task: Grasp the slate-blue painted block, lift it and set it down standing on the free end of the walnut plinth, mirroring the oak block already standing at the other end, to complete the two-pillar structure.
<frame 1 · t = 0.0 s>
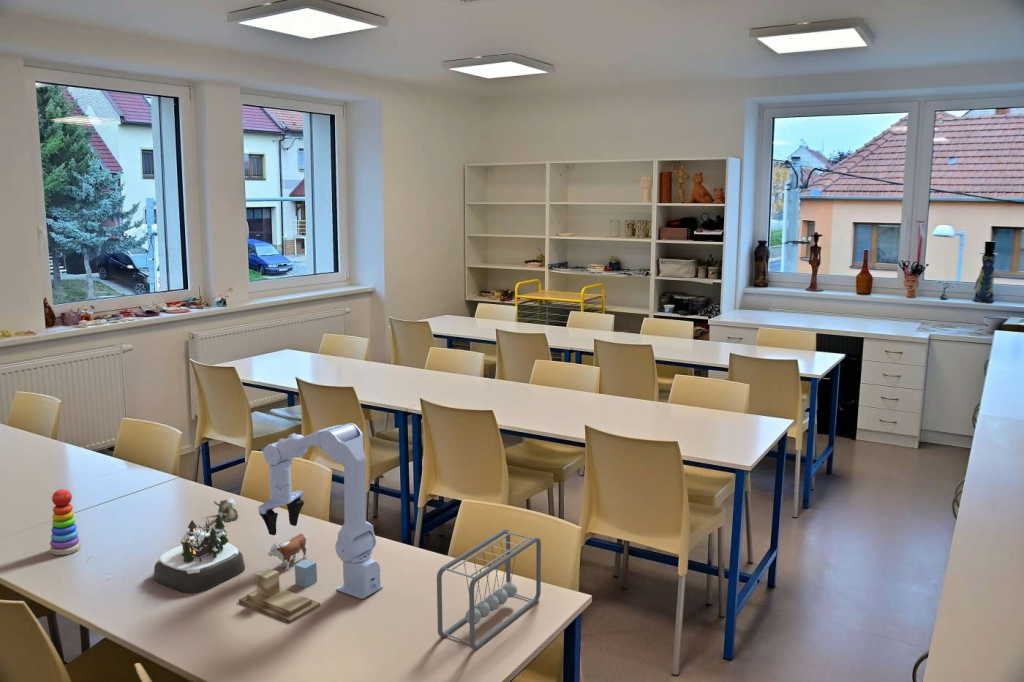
hand: (283, 529, 229), 10 cm above the table, fingers open, 7 cm apart
bull figurine: (289, 565, 229), on the table
miniature diorama: (200, 574, 225), on the table
stacking toy: (65, 551, 239), on the table
newton's cradle: (491, 619, 200), on the table
slate block: (306, 582, 219), on the table
plinth: (279, 604, 207), on the table
oak block: (268, 592, 209), point 2 cm above the table, touching plinth
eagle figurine: (226, 518, 264), on the table
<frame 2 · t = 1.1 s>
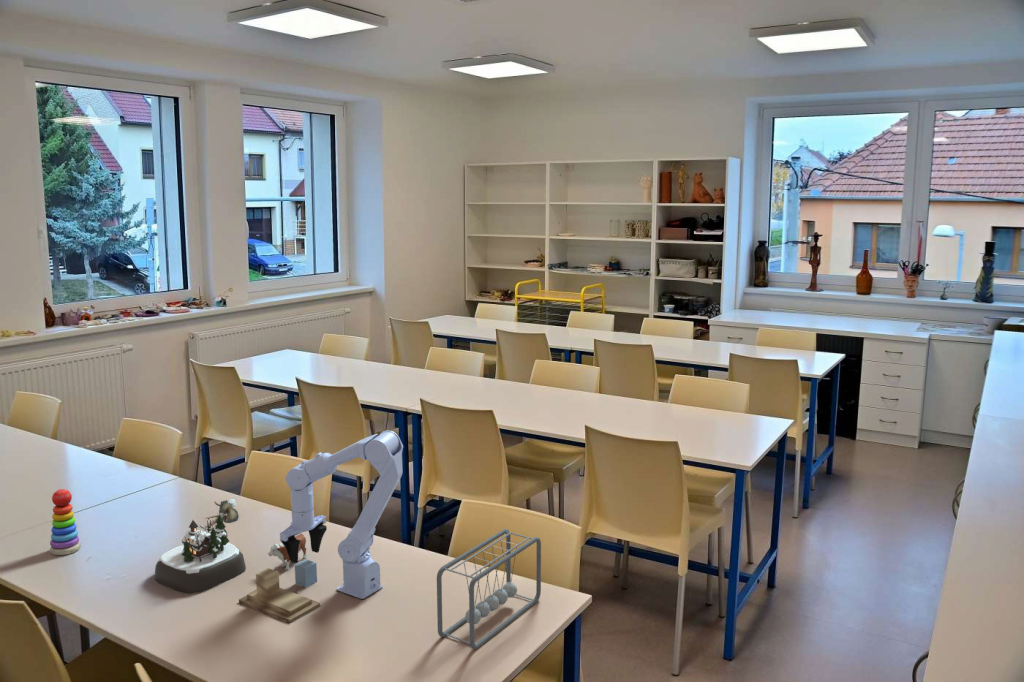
hand: (304, 556, 218), 7 cm above the table, fingers open, 7 cm apart
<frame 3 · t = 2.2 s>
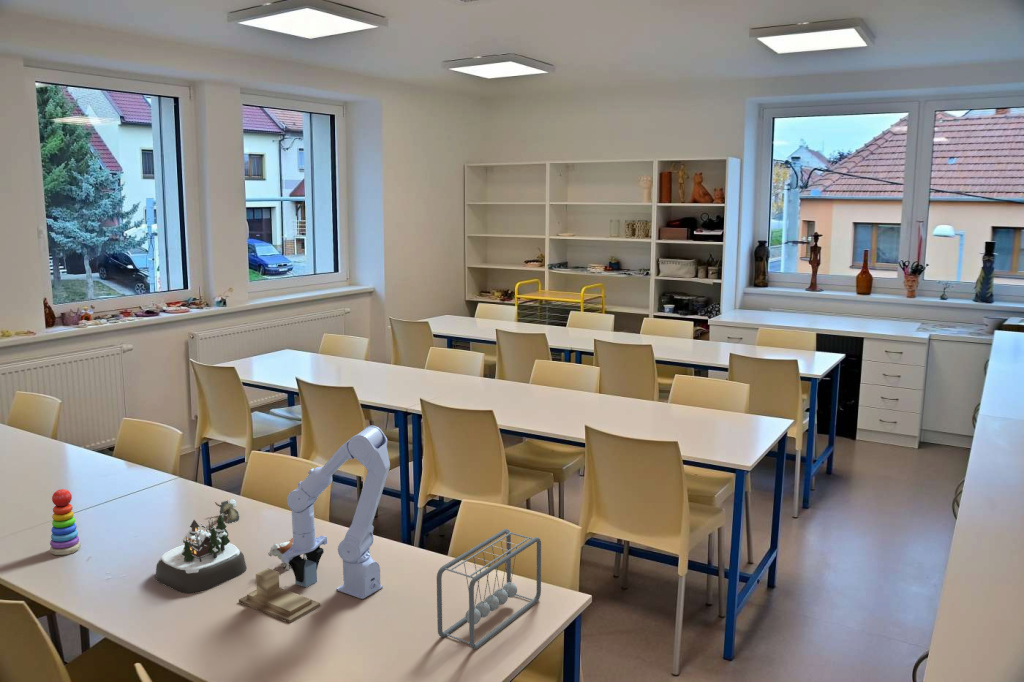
hand: (306, 577, 219), 1 cm above the table, fingers closed on slate block, 4 cm apart
slate block: (306, 582, 219), on the table, touching gripper
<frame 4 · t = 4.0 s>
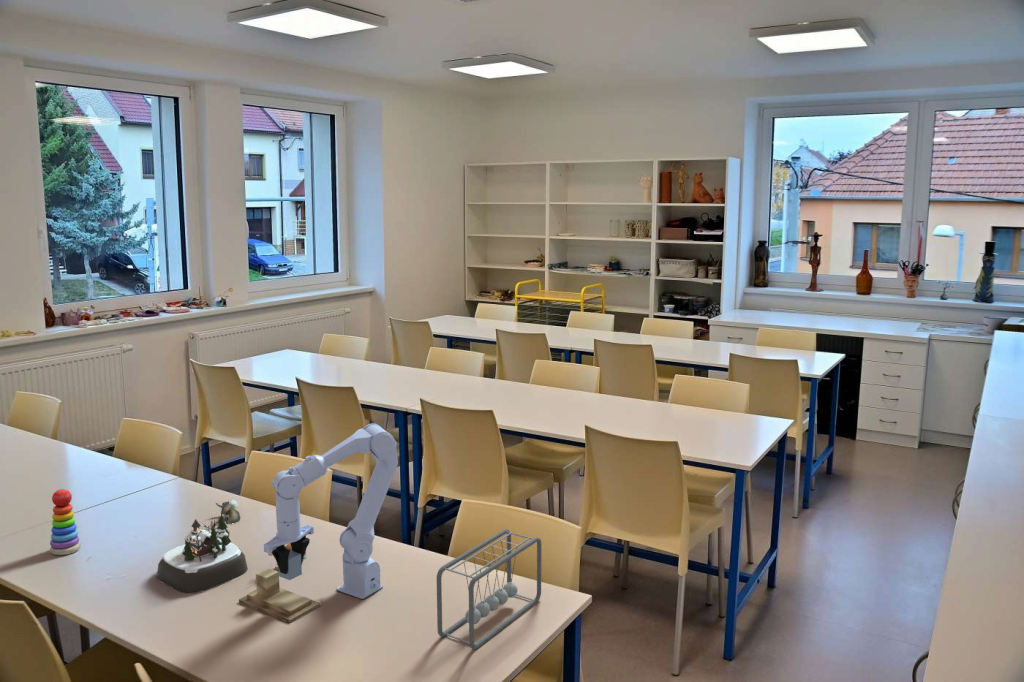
hand: (290, 569, 206), 9 cm above the table, fingers closed on slate block, 4 cm apart
slate block: (290, 575, 206), point 8 cm above the table, touching gripper
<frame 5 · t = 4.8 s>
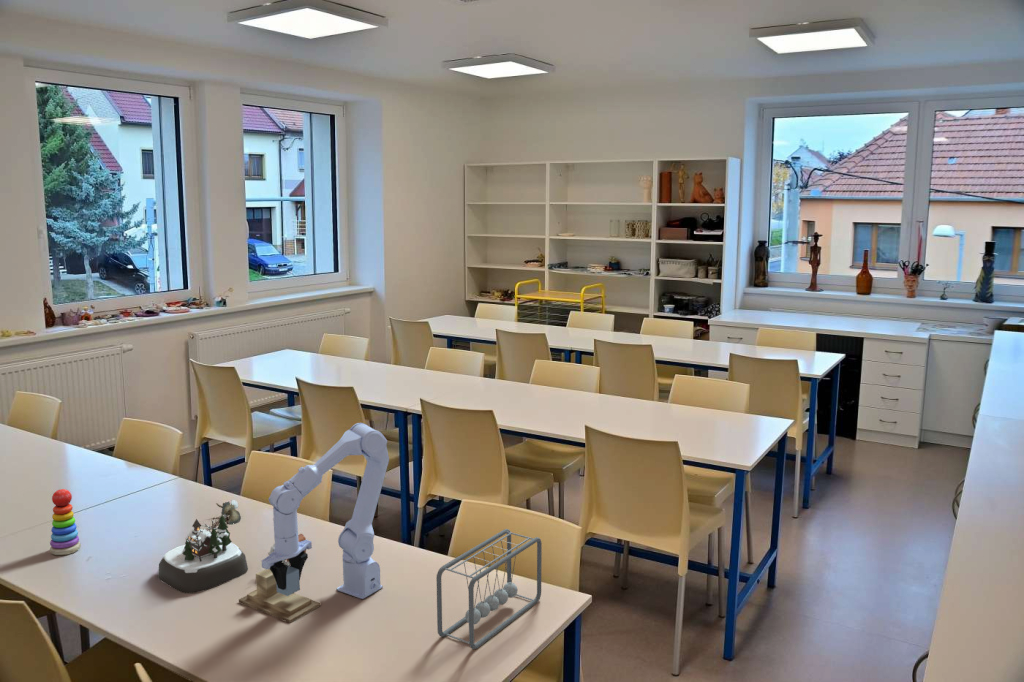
hand: (288, 584, 204), 6 cm above the table, fingers closed on slate block, 4 cm apart
slate block: (288, 590, 205), point 5 cm above the table, touching gripper
when the fingers open (4 cm above the table, at t = 5.6 s): slate block stays where it is, resting on plinth.
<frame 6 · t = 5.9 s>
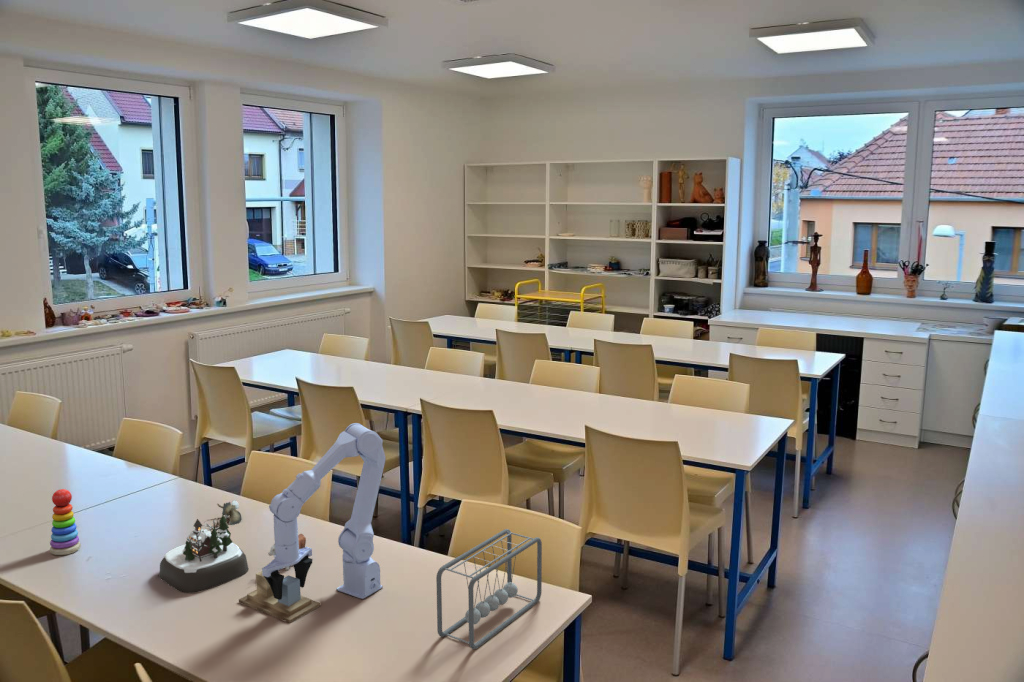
hand: (289, 592, 204), 4 cm above the table, fingers open, 7 cm apart
slate block: (289, 600, 205), point 2 cm above the table, touching plinth
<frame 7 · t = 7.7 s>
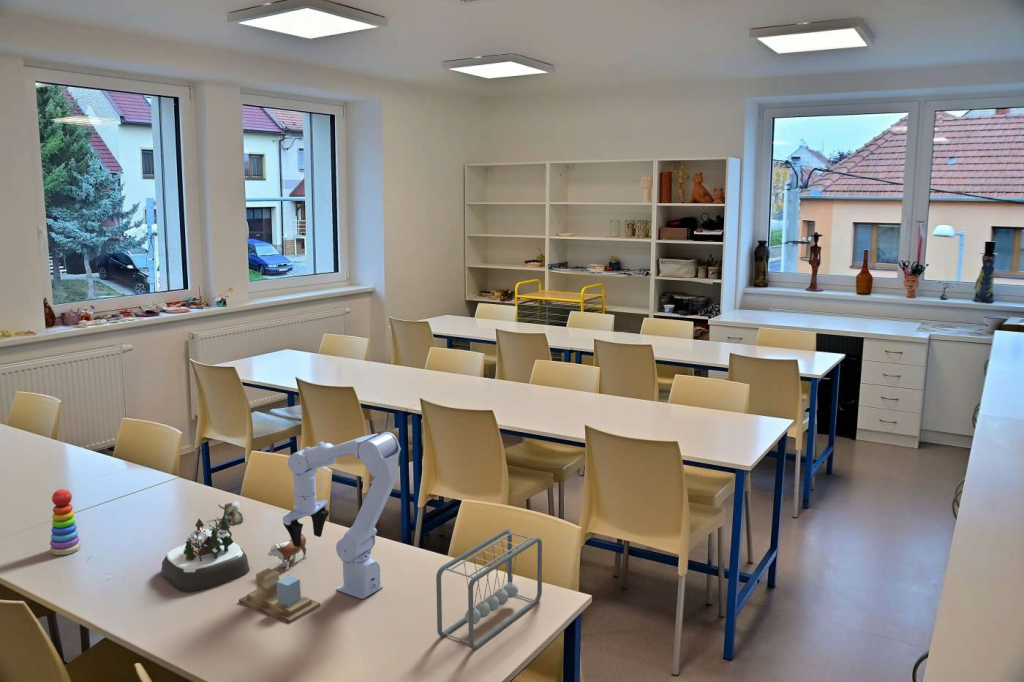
hand: (307, 540, 221), 10 cm above the table, fingers open, 7 cm apart
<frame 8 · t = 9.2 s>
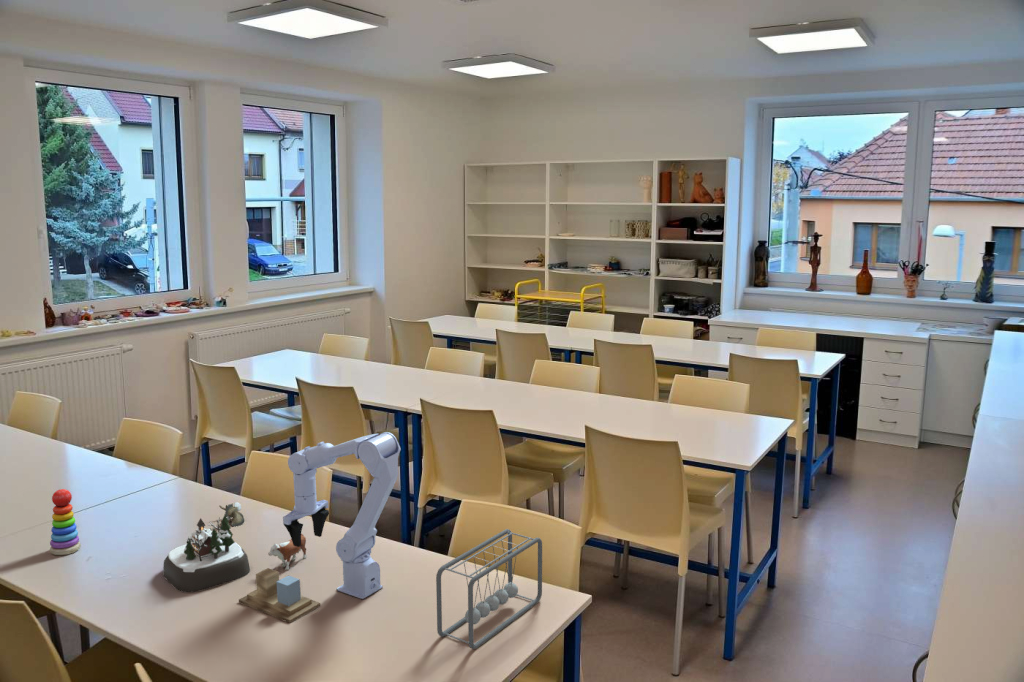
hand: (307, 540, 221), 10 cm above the table, fingers open, 7 cm apart
at the end: slate block 0.3 cm from the target spot on the plinth, point 2.0 cm above the plinth's base; slate block tilted 0°; the gripper is holding nothing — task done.
